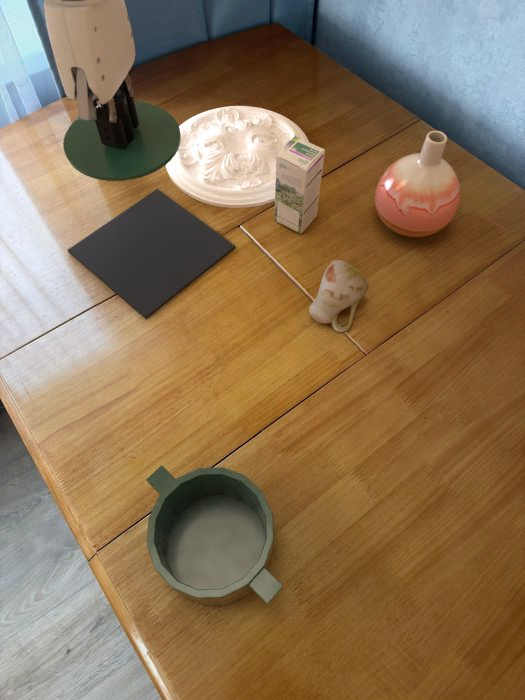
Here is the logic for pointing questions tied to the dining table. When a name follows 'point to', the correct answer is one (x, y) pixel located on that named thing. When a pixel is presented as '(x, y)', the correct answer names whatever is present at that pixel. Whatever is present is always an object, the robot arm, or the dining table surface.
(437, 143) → the vase
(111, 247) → the mat
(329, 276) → the mug
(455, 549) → the dining table surface
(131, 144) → the lid
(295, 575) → the dining table surface
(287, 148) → the syrup box
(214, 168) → the ceiling medallion
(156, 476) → the pot
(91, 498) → the dining table surface
